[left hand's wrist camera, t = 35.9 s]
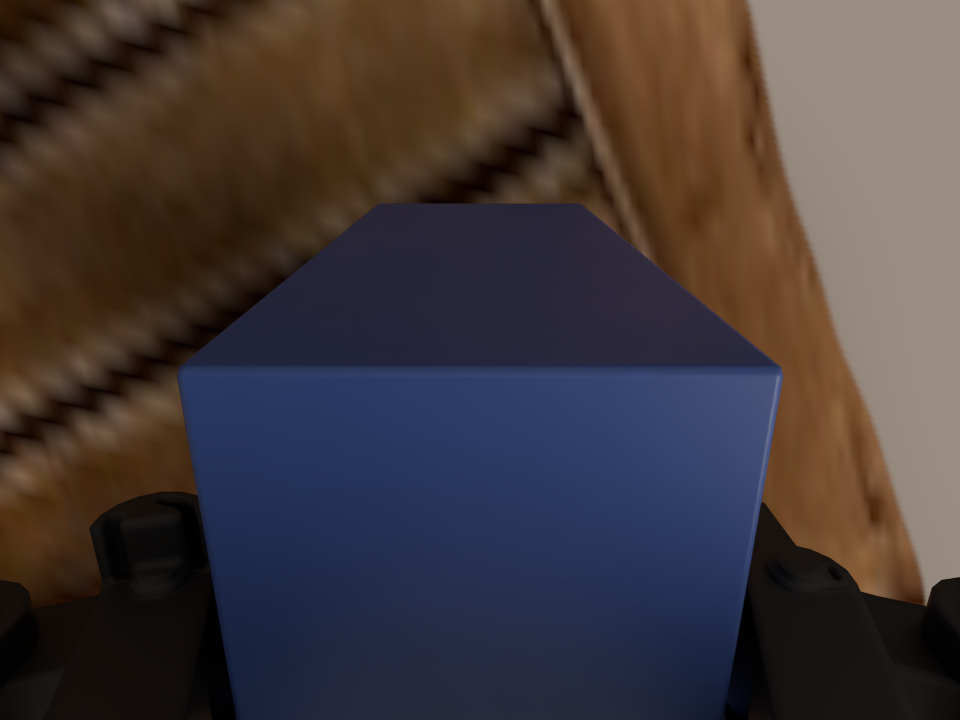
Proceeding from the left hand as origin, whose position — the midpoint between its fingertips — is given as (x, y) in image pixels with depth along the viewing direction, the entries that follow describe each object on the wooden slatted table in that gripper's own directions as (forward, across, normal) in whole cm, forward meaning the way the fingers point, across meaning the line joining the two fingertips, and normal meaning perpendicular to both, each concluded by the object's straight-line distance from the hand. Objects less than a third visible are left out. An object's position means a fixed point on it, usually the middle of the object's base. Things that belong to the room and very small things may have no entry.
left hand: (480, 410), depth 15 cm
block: (+2, 0, 0) cm, 2 cm away
